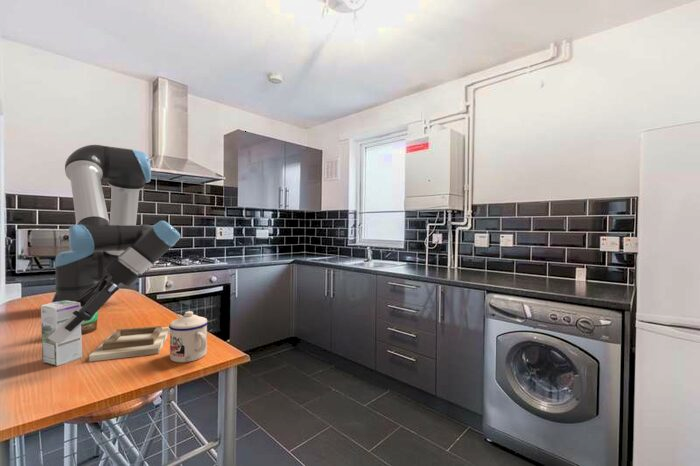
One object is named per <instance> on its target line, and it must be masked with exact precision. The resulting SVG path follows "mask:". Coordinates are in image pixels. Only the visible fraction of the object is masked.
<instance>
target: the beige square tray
mask: <svg viewBox="0 0 700 466" xmlns="http://www.w3.org/2000/svg"><path fill="white" fill-rule="evenodd" d="M168 336H170V328H169V326H165V327H164V326H163V327H162V325H157V326H145V327H136V328H134V327H133V328H121V329H116V330H115V331H113V332H111V334H110V335H108V337H107V338H106V339H105V340H103V342H102V343H100V345H98V346H97V348H96V349H95V350H94V351H92V352H91V353H90V354H89V355H88V362H97V361H106V360H107V361H108V360H115V359H124V358H133V357H142V356H151V355H158V354H159V353H160V352H161V349H162V348H163V346H164V344H165V342H166V340H167V338H168Z"/></svg>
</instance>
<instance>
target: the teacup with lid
mask: <svg viewBox="0 0 700 466" xmlns="http://www.w3.org/2000/svg"><path fill="white" fill-rule="evenodd" d="M208 323H209V322H208V318H206V317H204V316H199V315H197V314H194V311H192V310H191V311H190V310H189V311H185V312H184V315H182V316H180V317H178V318H176V319H174V320H172V321H171V322H170V323H169V325H168V327H169V328H170V333H169V358H170V360H171V361H172V362H175V363H188V362H194V361H197V360H200V359H202V358H204V357H205V355H207V352H208V350H207V349H208V341H207V340H208Z"/></svg>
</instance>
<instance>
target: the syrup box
mask: <svg viewBox="0 0 700 466" xmlns="http://www.w3.org/2000/svg"><path fill="white" fill-rule="evenodd" d="M80 309H81V304H80V302H74V301H67V300H65V301H57V302H53V303H52V302H49V303H45V304H41V305H40V320H41V321H40V322H41V325H40V327H41V351H42V352H41V354H42V355H41V358H42V359H41V360H42V363H44V364H47V365H52V366H56V367H58V366H61V365H64V364H67V363H71V362H73V361H76V360H79V359H82V358H83V350H82V348H83V347H82V344H83V343H82V335H81V325H80V326H79V327H78V328H77V329H76V330H75V331H74V332H72V333H71V334H70V335H69V336H68V337H67V338H66V339H65V340H64V341H63V342H62V343H60V344H58V343H56V342H54V341H52V340H50V339H49V338H48V337H49V336H50V335H51V334H52V333H53V332H55V331H56V330H57V329H58V328H59V327H60V326H61V325H62V324H64V323H65V322H66V321H67V320H68V319H69V318H70V317H71V316H73V315H74V314H72V313H73V312H74V311H79V310H80Z"/></svg>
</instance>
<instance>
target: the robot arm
mask: <svg viewBox="0 0 700 466" xmlns="http://www.w3.org/2000/svg"><path fill="white" fill-rule="evenodd" d="M151 167H152V166H151V162H150V158H149V156H148V155H147V154H146V153H145V152H144V151H141V150H140V151H139V150H136V149H129V148H124V147H115V146H108V145H103V144H102V145H101V144H89V145H88V144H87V145H85V146H82V147H79V148H78V149H75V150H73V152H72V153H71V154H70V155H69V156H68V157H67V159H66V161H65V163H64V172H65V176H66V178H68V180H69V181H70V187H71V193H72V194H71V195H72V199H73V200H72V201H73V208H74V216H75V223H76V224H75V225H74V224H73V225H70V226H69V228H68V247H69V248H68V249H69V250H67V251H62V252H59V253H58V254H56V255H55V263H54V268H55V293H54V296H53V298H52V300H51V303H53V302H57V301H65V300H67V301H74V302H80V304H81V309H80V310H79V311H74V312H73V313H72V314H74V315H73V316H71V317H70V318H69V319H68V320H67V321H66V322H65V323H64V324H62V325H61V326H60V327H59V328H58V329H57V330H56V331H55V332H53V333H52V334H51V335H50V336H49V337H48V338H49V339H50V340H52V341H54V342H56V343H58V344H60V343H62V342H63V341H64V340H65V339H66V338H67V337H68V336H69V335H70V334H71V333H72V332H74V331H75V330H76V329H77V328H78V327H79V326H80V325H81V324H82V323H83V322H84V321H86V320H87V321H88V320H90V319H91V318H92V316H93V315H94V314H95V313H96V312H97V311H98V312H99V310H100V309H101V308H102V307H103V306H104V304H105V303H106V302H108V301H109V299H110V298H111V297H112V296H114V294H116V292H118V291H119V290H120V286H119V284H123V285H125V286H126V287H130V286H131V285H132V284H133V283H134V282H135V281H137V279H138V278H139V275H143V273H145V272H146V271H150V270H151V269H152V268H151V266H153V265H154V264H155V262H157V261H158V260H159V259H160V258H161V257H162V256H164V254H165V253H167V252H168V251H169V250H171V248H173V247H174V246H175V245H176V244H177V242H178V241H179V240H180V239H181V233H180V232H179V231H178V230H177V229H176V228H175V227H174V226H173V225H171V224H170V223H168V222H167V221H166V220H159V221H158V222H156V223H155V224H153V225H151V224H144V223H143V224H138V225H137V220H138V208H139V197H140V196H139V195H140V191H141V190H143V189H144V188H145V184H147V183H150V182H151V179H152V168H151ZM102 179H105V180H107V181H106V182H107V184H108V185H109V187H111V197H110V198H111V199H110V210H109V211H110V214H108V209H107V204H106V200H105V196H104V195H105V194H104V191H103V185H102V181H101V180H102Z"/></svg>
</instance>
